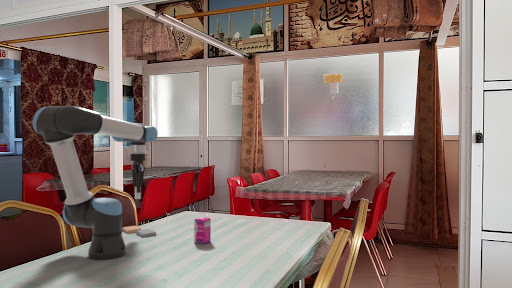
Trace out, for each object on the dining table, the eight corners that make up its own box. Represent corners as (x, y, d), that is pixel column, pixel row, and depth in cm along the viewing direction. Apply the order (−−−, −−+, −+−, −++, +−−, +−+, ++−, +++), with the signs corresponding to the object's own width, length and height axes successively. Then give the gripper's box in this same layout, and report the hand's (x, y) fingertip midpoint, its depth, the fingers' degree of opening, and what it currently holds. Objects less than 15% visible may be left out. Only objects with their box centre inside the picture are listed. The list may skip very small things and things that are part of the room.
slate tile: (143, 233, 198) (136, 230, 205) (143, 238, 198) (136, 234, 205) (156, 232, 202) (149, 228, 209) (156, 236, 202) (149, 232, 209)
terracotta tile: (128, 230, 206) (122, 227, 213) (128, 234, 206) (122, 231, 213) (141, 228, 210) (135, 225, 217) (141, 232, 210) (135, 229, 217)
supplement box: (193, 243, 187) (193, 218, 187) (201, 240, 192) (201, 216, 192) (203, 244, 184) (203, 220, 184) (211, 241, 190) (211, 217, 189)
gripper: (149, 153, 201) (149, 199, 201) (140, 152, 211) (139, 196, 212) (135, 153, 197) (135, 201, 197) (126, 153, 207) (126, 198, 207)
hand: (137, 198), depth 204 cm, fingers closed
